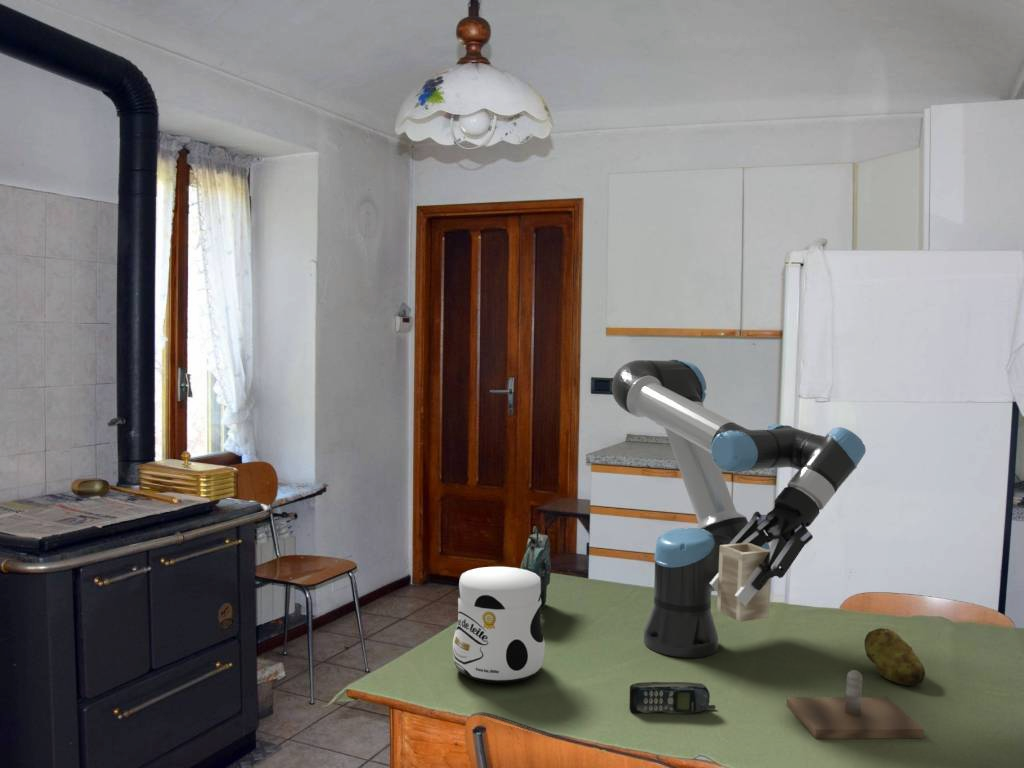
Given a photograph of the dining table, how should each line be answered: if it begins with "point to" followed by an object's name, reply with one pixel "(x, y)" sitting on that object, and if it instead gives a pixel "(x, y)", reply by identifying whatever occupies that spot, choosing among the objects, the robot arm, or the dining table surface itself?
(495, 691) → the dining table surface
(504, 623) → the doce de leite jar
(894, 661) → the potato
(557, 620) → the dining table surface
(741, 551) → the wooden pencil cup
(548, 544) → the green statue
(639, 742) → the dining table surface
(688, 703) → the mobile phone
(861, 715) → the flat brown rectangular board
